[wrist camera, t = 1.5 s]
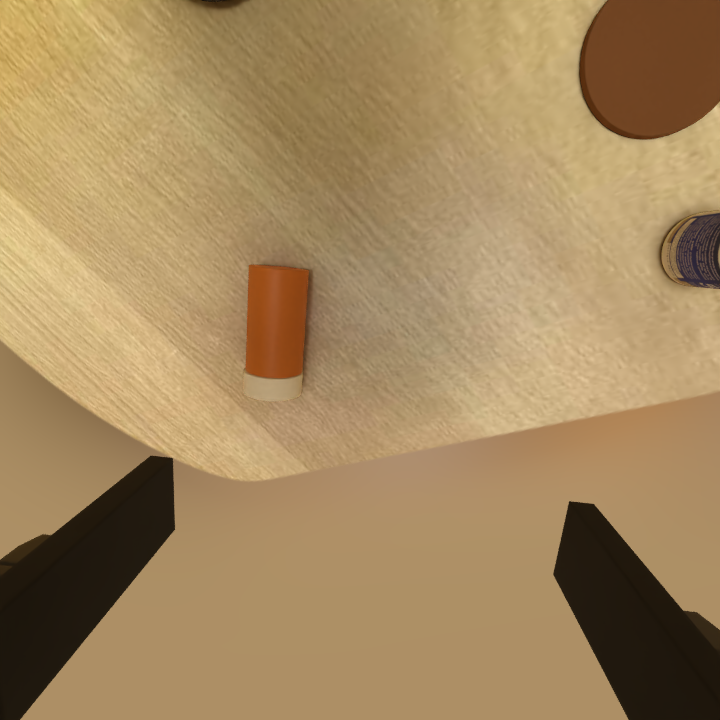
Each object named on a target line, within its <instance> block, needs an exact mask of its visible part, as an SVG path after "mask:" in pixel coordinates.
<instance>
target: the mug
mask: <svg viewBox="0 0 720 720" xmlns="http://www.w3.org/2000/svg"><path fill="white" fill-rule="evenodd" d="M202 1H209V2H219V1H225V0H202Z"/></svg>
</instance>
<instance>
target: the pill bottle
mask: <svg viewBox="0 0 720 720" xmlns="http://www.w3.org/2000/svg"><path fill="white" fill-rule="evenodd" d="M662 264H663V267H664V269H665V271H666V273H667V274H668V275H669V276H670V277H671V278H672V279H673V280H674V281H676V282H677V283H679V284H682V285H685V286H692V287H703V288H715V289H720V210H716V211H710V212H703V213H698V214H694V215H691V216H689V217H687V218H685V219H683V220H682V221H680V222H679V223H678V224H677V225H676V226H675V227H674V228H673V229H672V230H671V231H670V233H669V234H668V236H667V237H666V239H665V241H664V244H663V248H662Z"/></svg>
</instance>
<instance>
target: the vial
mask: <svg viewBox="0 0 720 720" xmlns="http://www.w3.org/2000/svg"><path fill="white" fill-rule="evenodd" d="M308 276H309V270H306V269H299V268H291V267H281V266H269V265H249V280H248V312H247V344H246V368H245V369H244V376H243V392H244V394H245V395H246V396H248V397H250V398H252V399H256V400H261V401H270V402H279V401H288V400H292V399H295V398H297V397H299V396H300V395H301V393H302V379H303V371H302V368H303V353H304V337H305V322H306V306H307V291H308Z"/></svg>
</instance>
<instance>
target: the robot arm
mask: <svg viewBox="0 0 720 720" xmlns="http://www.w3.org/2000/svg"><path fill="white" fill-rule="evenodd" d="M174 519H175V518H174V482H173V458H168V457H158V456H150V457H149V458H147V459H146V460H145V461H144V462H142V463H141V464H140V465H139V466H137V467H136V468H135V469H134V470H132V471H131V472H130V473H129V474H127V475H126V476H125V477H124V478H122V479H121V480H120V481H119V482H117V483H116V484H115V485H114V486H112V487H111V488H110V489H109V490H107V491H106V492H105V493H104V494H102V495H101V496H100V497H99V498H97V499H96V500H95V501H94V502H92V503H91V504H90V505H89V506H87V507H86V508H85V509H84V510H82V511H81V512H80V513H79V514H77V515H76V516H75V517H74V518H72V519H71V520H70V521H69V522H67V523H66V524H65V525H64V526H62V527H61V528H60V529H59V530H57V531H56V532H55V533H54V534H52V535H40V536H38V537H36V538H34V539H32V540H30V541H28V542H26V543H24V544H22V545H20V546H18V547H17V548H15V549H14V550H13V551H11V552H10V553H9V554H8V555H6V556H5V557H3V558H2V559H1V560H0V720H20V719H21V718H22V717H23V715H24V714H25V713H26V712H27V710H28V709H29V708H30V707H31V705H32V704H33V703H34V702H35V701H36V699H37V698H38V697H39V696H40V694H41V693H42V692H43V691H44V689H45V688H46V687H47V686H48V684H49V683H50V682H51V681H52V679H53V678H54V677H55V676H56V675H57V673H58V672H59V671H60V670H61V669H62V667H63V666H64V665H65V664H66V662H67V661H68V660H69V659H70V658H71V656H72V655H73V654H74V653H75V651H76V650H77V649H78V648H79V647H80V645H81V644H82V643H83V641H84V640H85V639H86V638H87V637H88V635H89V634H90V633H91V632H92V630H93V629H94V628H95V627H96V625H97V624H98V623H99V622H100V621H101V619H102V618H103V617H104V616H105V615H106V613H107V612H108V611H109V610H110V608H111V607H112V606H113V605H114V603H115V602H116V601H117V600H118V599H119V597H120V596H121V595H122V594H123V592H124V591H125V590H126V589H127V588H128V586H129V585H130V584H131V583H132V581H133V580H134V579H135V578H136V576H137V575H138V574H139V573H140V572H141V570H142V569H143V568H144V567H145V565H146V564H147V563H148V562H149V560H150V559H151V558H152V557H153V556H154V554H155V553H156V552H157V551H158V549H159V548H160V547H161V546H162V545H163V543H164V542H165V541H166V540H167V538H168V537H169V536H170V535H171V533H172V532H173V531H174V530H175V520H174ZM554 577H555V579H556V581H557V582H558V584H559V586H560V588H561V590H562V592H563V594H564V596H565V598H566V600H567V602H568V603H569V606H570V607H571V609H572V611H573V613H574V615H575V617H576V619H577V621H578V623H579V625H580V627H581V629H582V631H583V633H584V634H585V636H586V638H587V640H588V642H589V644H590V646H591V648H592V650H593V652H594V654H595V656H596V658H597V660H598V661H599V663H600V665H601V667H602V669H603V671H604V673H605V675H606V677H607V679H608V681H609V683H610V685H611V686H612V688H613V690H614V692H615V694H616V696H617V698H618V700H619V702H620V704H621V706H622V708H623V710H624V712H625V714H626V715H627V717H628V719H629V720H720V630H719V629H718V628H716V627H715V626H714V625H713V624H711V623H710V622H709V621H707V620H706V619H705V618H703V617H702V616H701V615H700V614H698V613H697V612H689V611H683V610H682V609H681V608H680V606H679V605H678V604H677V603H676V602H675V601H674V599H673V598H672V597H671V596H670V595H669V593H668V592H667V591H666V590H665V588H664V587H663V586H662V585H661V584H660V583H659V581H658V580H657V579H656V578H655V577H654V575H653V574H652V573H651V572H650V571H649V569H648V568H647V567H646V566H645V565H644V564H643V562H642V561H641V560H640V559H639V558H638V556H637V555H636V554H635V553H634V551H633V550H632V549H631V548H630V547H629V546H628V544H627V543H626V542H625V541H624V540H623V538H622V537H621V536H620V535H619V534H618V532H617V531H616V530H615V529H614V528H613V526H612V525H611V524H610V523H609V522H608V521H607V519H606V518H605V517H604V516H603V514H602V513H601V512H600V511H599V510H598V509H597V507H596V506H595V505H594V504H589V503H580V502H571V501H570V502H569V505H568V510H567V514H566V519H565V523H564V528H563V533H562V537H561V542H560V546H559V551H558V556H557V560H556V564H555V569H554Z"/></svg>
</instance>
